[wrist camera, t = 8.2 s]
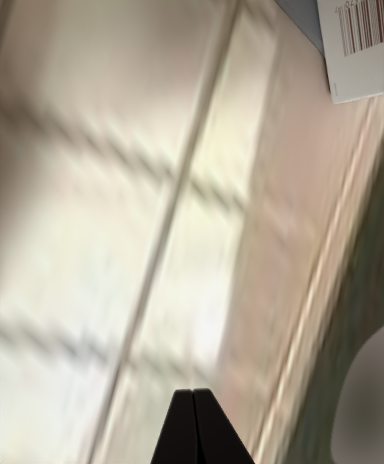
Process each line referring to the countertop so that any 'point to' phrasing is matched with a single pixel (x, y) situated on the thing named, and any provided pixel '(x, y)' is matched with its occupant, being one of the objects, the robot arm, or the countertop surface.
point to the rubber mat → (305, 19)
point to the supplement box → (353, 47)
